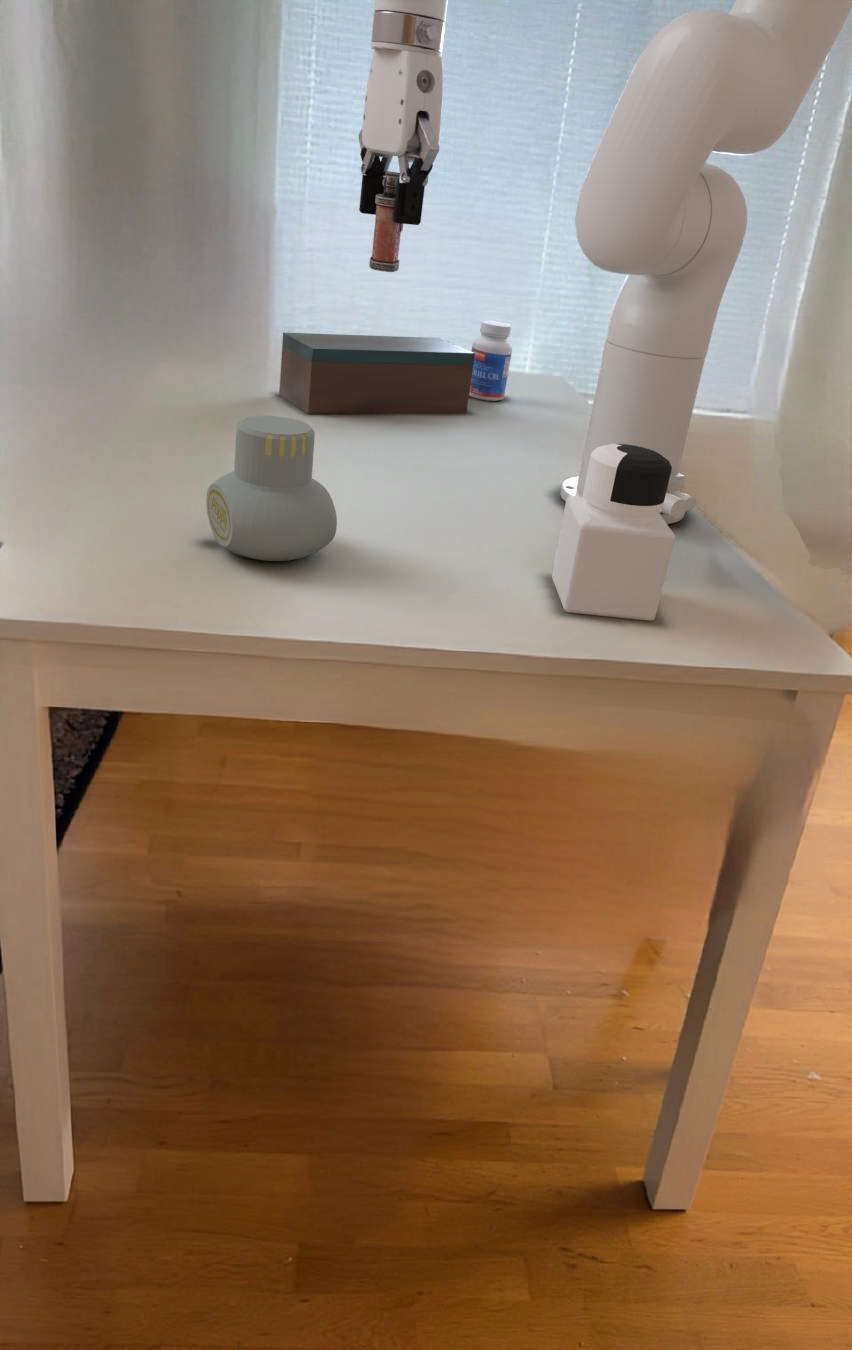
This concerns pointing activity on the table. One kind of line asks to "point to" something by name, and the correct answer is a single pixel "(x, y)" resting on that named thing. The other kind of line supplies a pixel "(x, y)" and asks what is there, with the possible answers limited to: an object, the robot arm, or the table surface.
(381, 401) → the brown rectangular block
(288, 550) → the air freshener
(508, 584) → the table surface
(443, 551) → the table surface
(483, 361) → the pill bottle
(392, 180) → the red smoke grenade
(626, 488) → the medicine bottle
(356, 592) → the table surface
